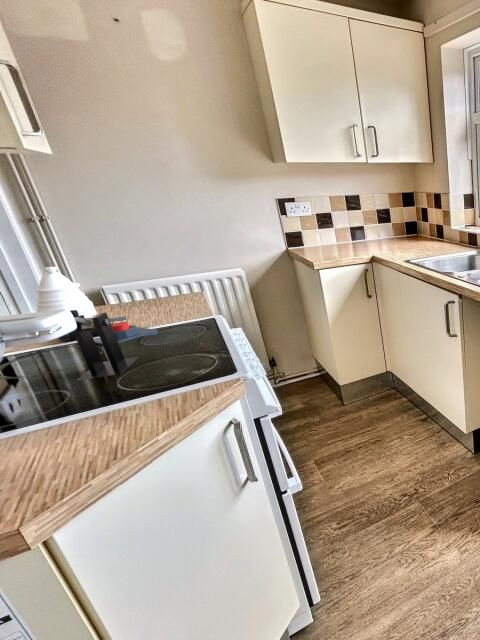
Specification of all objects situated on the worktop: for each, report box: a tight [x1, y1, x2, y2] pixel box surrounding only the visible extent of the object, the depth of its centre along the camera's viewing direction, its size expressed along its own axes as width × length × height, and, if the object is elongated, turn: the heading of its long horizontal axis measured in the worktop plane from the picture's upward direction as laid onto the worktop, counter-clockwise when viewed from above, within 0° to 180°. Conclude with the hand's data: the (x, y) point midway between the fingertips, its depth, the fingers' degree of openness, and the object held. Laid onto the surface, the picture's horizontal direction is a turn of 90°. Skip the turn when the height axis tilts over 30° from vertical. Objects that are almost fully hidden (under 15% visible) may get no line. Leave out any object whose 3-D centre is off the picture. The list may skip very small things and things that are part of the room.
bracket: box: [73, 312, 139, 382], centre depth 96 cm, size 11×8×14 cm
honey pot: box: [34, 266, 98, 318], centre depth 134 cm, size 13×13×18 cm
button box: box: [93, 324, 159, 346], centre depth 118 cm, size 12×9×4 cm
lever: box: [70, 310, 97, 331], centre depth 89 cm, size 13×6×2 cm, turn 23°
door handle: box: [57, 315, 128, 342], centre depth 128 cm, size 3×20×16 cm
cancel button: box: [111, 321, 130, 332], centre depth 117 cm, size 4×4×2 cm
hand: (14, 319), depth 72 cm, fingers open, 8 cm apart
